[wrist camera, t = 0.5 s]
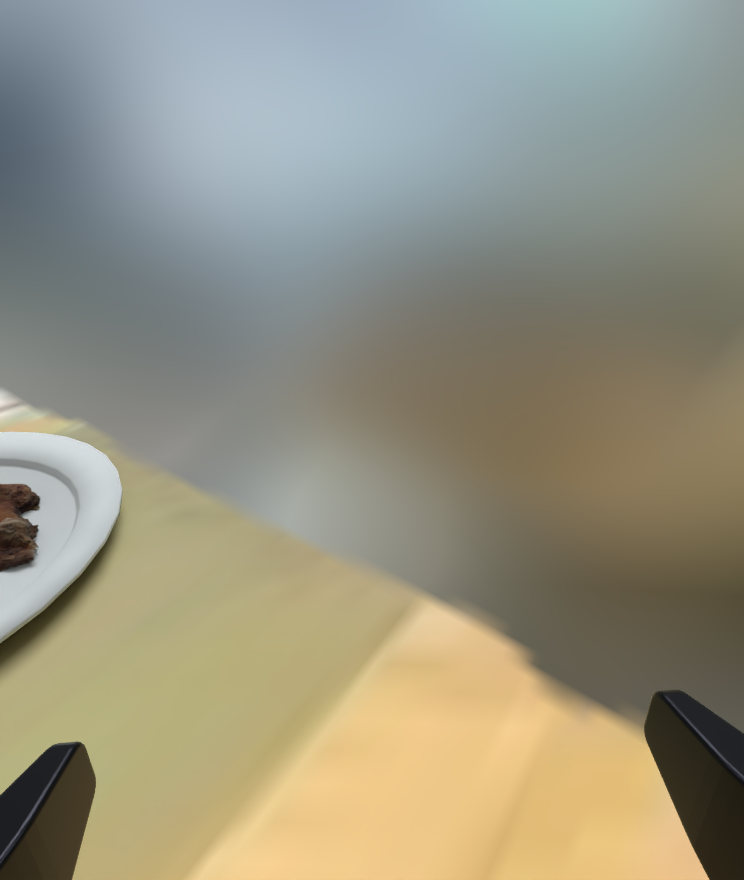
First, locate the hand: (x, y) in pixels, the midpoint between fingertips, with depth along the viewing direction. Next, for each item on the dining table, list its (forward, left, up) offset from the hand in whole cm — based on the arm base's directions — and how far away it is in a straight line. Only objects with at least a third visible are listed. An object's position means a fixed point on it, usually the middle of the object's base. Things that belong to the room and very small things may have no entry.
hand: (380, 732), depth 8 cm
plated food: (+17, +35, -17) cm, 43 cm away
